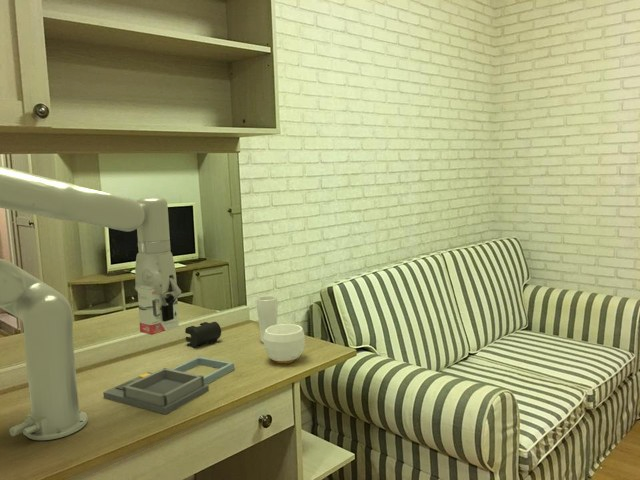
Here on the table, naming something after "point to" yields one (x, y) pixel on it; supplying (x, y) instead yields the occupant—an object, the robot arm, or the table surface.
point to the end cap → (203, 334)
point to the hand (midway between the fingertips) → (159, 318)
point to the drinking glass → (266, 313)
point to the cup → (284, 342)
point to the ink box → (154, 312)
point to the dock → (159, 390)
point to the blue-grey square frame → (223, 365)
